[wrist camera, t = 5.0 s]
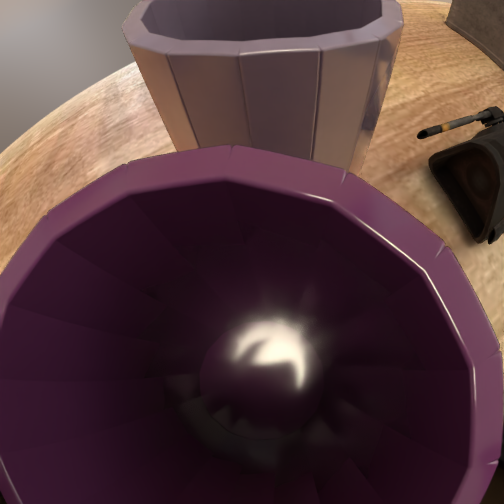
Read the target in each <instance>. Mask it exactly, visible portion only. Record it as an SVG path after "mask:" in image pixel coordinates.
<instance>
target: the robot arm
mask: <svg viewBox="0 0 504 504" xmlns="http://www.w3.org/2000/svg"><path fill="white" fill-rule="evenodd" d="M498 461H499V463H498V466H497V469H496V471H495V473H494V476H493V478H492V480H491V483H490V485H489V487H488V489H487V491H486V493H485V495H484V497H483V499H482V501H481V503H480V504H504V421H503V438H502V449H501V456H500V458H499V459H498ZM0 504H7V503H6V502H5V500H4V498H3V496H2V494H1V492H0Z"/></svg>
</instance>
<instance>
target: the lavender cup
mask: <svg viewBox="0 0 504 504" xmlns="http://www.w3.org/2000/svg"><path fill="white" fill-rule="evenodd" d="M403 27H404V20H403V14H402V9H401V5H400V4H399V3H398V2H397V1H396V0H142V1H141V2H140V3H138V4H137V5H136V6H135V7H134V8H133V9H132V10H131V12H130V14H129V15H128V17H127V18H126V20H125V22H124V23H123V25H122V31H123V33H124V36H125V38H126V40H127V42H128V44H129V47H130V49H131V52H132V54H133V56H134V58H135V61H136V63H137V65H138V67H139V70H140V72H141V74H142V76H143V79H144V81H145V83H146V85H147V88H148V90H149V92H150V94H151V96H152V99H153V101H154V103H155V105H156V107H157V109H158V112H159V114H160V116H161V118H162V120H163V123H164V125H165V127H166V129H167V131H168V133H169V135H170V138H171V140H172V142H173V144H174V146H175V148H176V150H177V152H179V151H185V150H191V149H197V148H204V147H211V146H218V145H225V144H229V145H231V146H232V147H233V146H234V145H243V146H248V147H253V148H258V149H263V150H268V151H273V152H277V153H282V154H287V155H291V156H295V157H300V158H304V159H308V160H312V161H316V162H320V163H324V164H328V165H331V166H335V167H339V168H343V169H345V170H346V172H347V174H348V173H349V172H351V173H354V174H355V175H357V176H359V174H360V171H361V168H362V165H363V162H364V160H365V157H366V154H367V151H368V148H369V145H370V142H371V139H372V136H373V133H374V130H375V127H376V124H377V120H378V117H379V114H380V111H381V108H382V104H383V101H384V98H385V94H386V91H387V88H388V84H389V81H390V77H391V74H392V70H393V66H394V63H395V59H396V55H397V51H398V47H399V43H400V39H401V35H402V31H403Z"/></svg>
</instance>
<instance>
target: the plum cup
mask: <svg viewBox="0 0 504 504" xmlns="http://www.w3.org/2000/svg"><path fill="white" fill-rule="evenodd" d="M499 349H500V344H499V341H498V339H497V337H496V335H495V332H494V330H493V328H492V326H491V323H490V321H489V319H488V317H487V315H486V313H485V311H484V309H483V307H482V305H481V303H480V301H479V299H478V297H477V295H476V293H475V291H474V289H473V287H472V285H471V283H470V282H469V280H468V278H467V276H466V274H465V273H464V271H463V269H462V267H461V266H460V264H459V262H458V260H457V259H456V257H455V255H454V254H453V252H452V250H451V249H450V248H449V247H448V246H446V247H445V242H444V241H443V240H442V239H441V238H440V237H439V236H437V235H436V234H435V233H434V232H433V231H431V230H430V229H429V228H428V227H426V226H425V225H424V224H423V223H421V222H420V221H419V220H418V219H416V218H415V217H414V216H412V215H411V214H410V213H408V212H407V211H406V210H405V209H403V208H402V207H401V206H399V205H398V204H396V203H395V202H394V201H392V200H391V199H390V198H388V197H387V196H385V195H384V194H383V193H381V192H380V191H378V190H377V189H376V188H374V187H373V186H371V185H370V184H368V183H367V182H366V181H364V180H363V179H361V178H360V177H358V176H357V175H355V174H354V173H351V172H349V173H348V174H347V172H346V170H345V169H343V168H339V167H335V166H331V165H328V164H324V163H320V162H316V161H312V160H308V159H304V158H300V157H295V156H291V155H287V154H282V153H277V152H273V151H268V150H263V149H258V148H253V147H248V146H243V145H234V146H233V147H232V146H231V145H229V144H225V145H218V146H211V147H204V148H197V149H191V150H185V151H179V152H173V153H168V154H163V155H157V156H152V157H147V158H142V159H137V160H133V161H130V162H128V164H122V165H120V166H118V167H117V168H115V169H113V170H111V171H110V172H108V173H106V174H105V175H103V176H101V177H100V178H98V179H96V180H95V181H93V182H91V183H90V184H88V185H87V186H85V187H83V188H82V189H80V190H79V191H77V192H76V193H74V194H73V195H71V196H70V197H68V198H66V199H65V200H64V201H62V202H61V203H59V204H58V205H56V206H55V207H53V208H52V209H50V210H49V211H48V212H47V215H44V216H43V217H42V218H41V219H40V220H39V222H38V223H37V224H36V225H35V227H34V228H33V229H32V231H31V232H30V233H29V234H28V236H27V237H26V238H25V240H24V241H23V243H22V244H21V245H20V247H19V248H18V249H17V251H16V252H15V254H14V255H13V256H12V258H11V259H10V261H9V262H8V264H7V265H6V267H5V268H4V270H3V271H2V273H1V274H0V492H1V494H2V496H3V498H4V500H5V502H6V503H7V504H480V503H481V501H482V499H483V497H484V495H485V493H486V491H487V489H488V487H489V485H490V483H491V480H492V478H493V476H494V473H495V471H496V469H497V466H498V463H499V461H498V459H499V458H500V456H501V449H502V438H503V421H504V376H503V359H502V353H501V351H499Z"/></svg>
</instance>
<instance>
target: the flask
mask: <svg viewBox="0 0 504 504" xmlns="http://www.w3.org/2000/svg"><path fill="white" fill-rule="evenodd" d="M446 24H447V26H449V27H450V28H451V29H453V30H454V31H456V32H458V33H459V34H461V35H462V36H463V37H465V38H466V39H468V40H469V41H470V42H472V43H473V44H474V45H476V46H477V47H478V48H479V49H480V50H482V51H483V52H484V53H485V54H486V55H488V56H489V57H490V58H491V59H492V60H493V61H494V62H495V63H496V64H497V65H498V66H499V67H500V68H501V69H502V70H503V71H504V0H452V4H451V7H450V11H449V14H448V17H447V21H446Z"/></svg>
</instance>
